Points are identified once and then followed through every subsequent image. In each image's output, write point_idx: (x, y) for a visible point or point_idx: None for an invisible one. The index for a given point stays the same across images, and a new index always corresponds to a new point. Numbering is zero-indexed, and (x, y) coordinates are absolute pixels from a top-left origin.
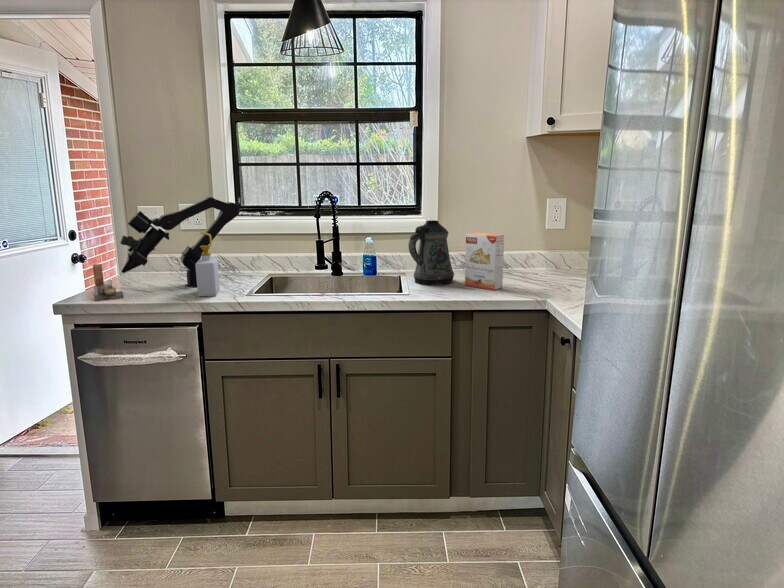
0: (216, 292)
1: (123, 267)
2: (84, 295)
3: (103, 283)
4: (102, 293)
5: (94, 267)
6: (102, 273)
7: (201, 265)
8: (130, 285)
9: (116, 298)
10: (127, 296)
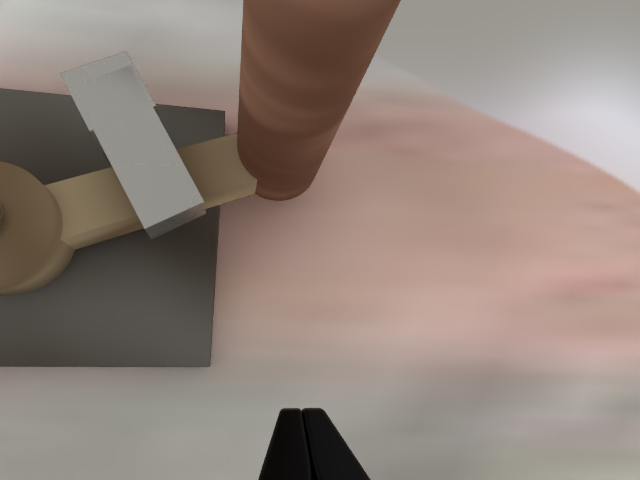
0: None
1: (336, 472)
2: None
3: (265, 164)
4: (110, 164)
5: None
6: (289, 101)
7: None
8: (609, 462)
9: None
10: (11, 411)
